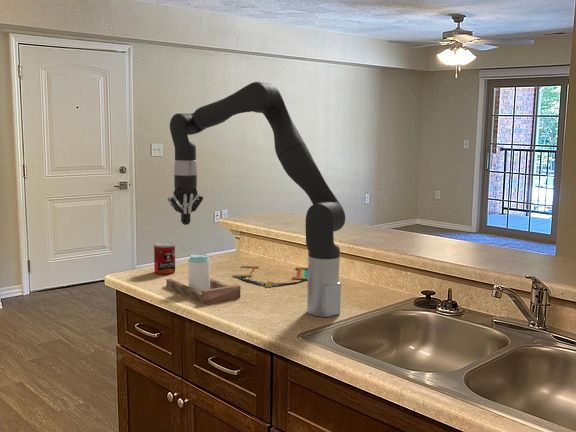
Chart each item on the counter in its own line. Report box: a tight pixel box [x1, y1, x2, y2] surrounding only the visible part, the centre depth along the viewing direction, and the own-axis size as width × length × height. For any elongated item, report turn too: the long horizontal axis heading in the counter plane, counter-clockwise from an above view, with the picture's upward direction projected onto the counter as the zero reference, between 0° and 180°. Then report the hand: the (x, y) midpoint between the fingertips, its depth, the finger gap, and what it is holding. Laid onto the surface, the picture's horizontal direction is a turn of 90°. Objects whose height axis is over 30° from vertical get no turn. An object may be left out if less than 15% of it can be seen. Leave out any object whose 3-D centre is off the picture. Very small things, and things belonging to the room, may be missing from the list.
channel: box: [165, 277, 241, 305], centre depth 204 cm, size 26×13×4 cm, turn 38°
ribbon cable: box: [232, 265, 308, 289], centre depth 226 cm, size 29×1×30 cm
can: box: [187, 253, 211, 292], centre depth 205 cm, size 7×7×12 cm
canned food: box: [153, 241, 176, 276], centre depth 229 cm, size 8×8×11 cm
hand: (185, 224), depth 210 cm, fingers closed
